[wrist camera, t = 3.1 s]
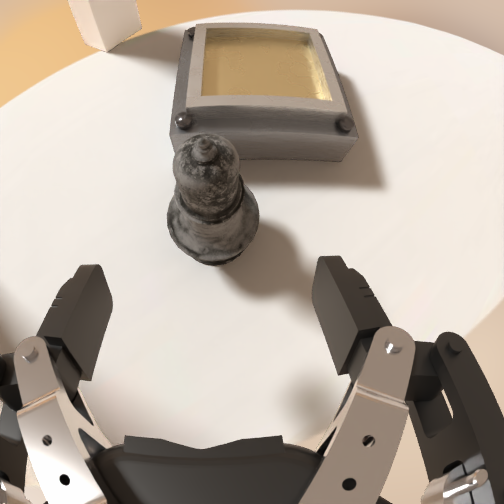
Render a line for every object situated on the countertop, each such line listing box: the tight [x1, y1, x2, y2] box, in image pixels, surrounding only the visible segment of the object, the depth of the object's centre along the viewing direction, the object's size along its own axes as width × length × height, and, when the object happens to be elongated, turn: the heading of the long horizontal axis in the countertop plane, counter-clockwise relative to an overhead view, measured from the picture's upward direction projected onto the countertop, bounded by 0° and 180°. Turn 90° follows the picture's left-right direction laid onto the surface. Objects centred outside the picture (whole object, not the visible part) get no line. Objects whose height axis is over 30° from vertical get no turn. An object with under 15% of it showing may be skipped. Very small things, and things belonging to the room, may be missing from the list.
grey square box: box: [170, 23, 358, 162], centre depth 21 cm, size 14×14×6 cm
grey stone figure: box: [167, 133, 259, 265], centre depth 15 cm, size 6×6×12 cm
